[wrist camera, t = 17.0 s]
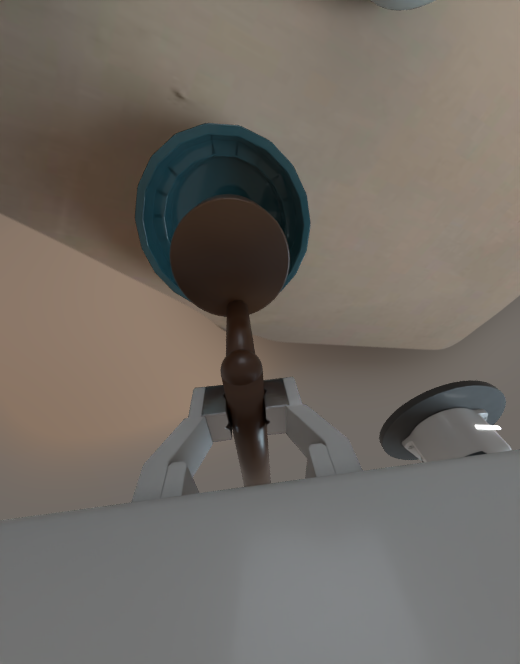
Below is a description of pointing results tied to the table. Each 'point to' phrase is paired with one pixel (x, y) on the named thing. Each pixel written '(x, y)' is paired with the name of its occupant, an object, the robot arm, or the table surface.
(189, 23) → the table surface
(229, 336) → the ladle
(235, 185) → the bowl
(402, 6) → the vase
